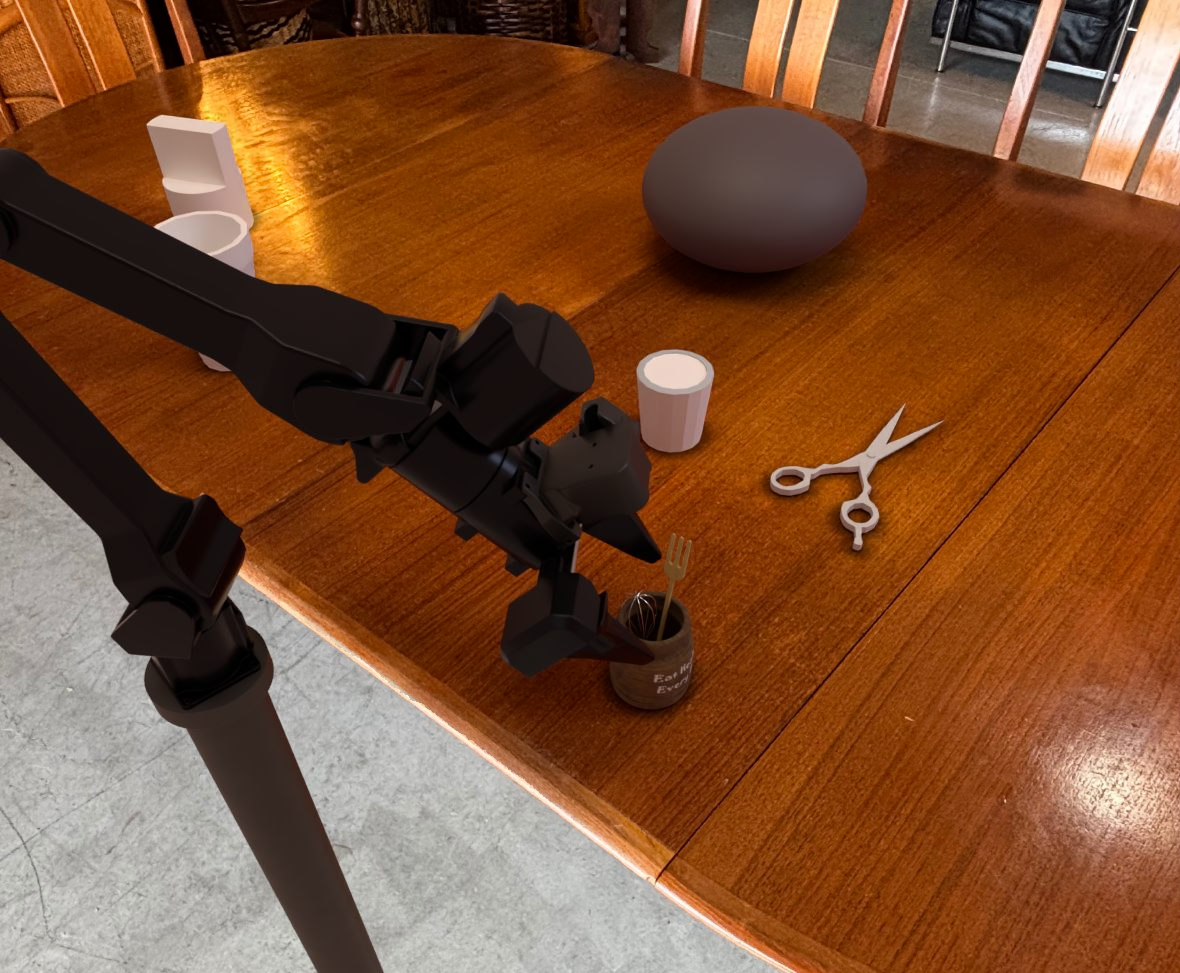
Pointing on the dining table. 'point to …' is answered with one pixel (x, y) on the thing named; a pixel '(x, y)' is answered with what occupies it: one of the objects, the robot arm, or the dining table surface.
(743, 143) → the smooth stone
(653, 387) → the shot glass
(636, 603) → the utensil holder
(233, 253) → the foam cup
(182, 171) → the base with upright slab
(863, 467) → the scissors
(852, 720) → the dining table surface
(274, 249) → the dining table surface
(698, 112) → the dining table surface
